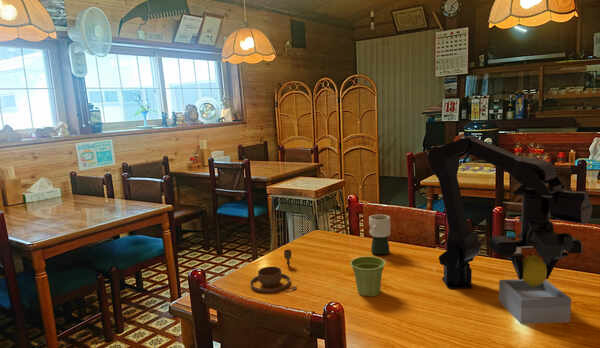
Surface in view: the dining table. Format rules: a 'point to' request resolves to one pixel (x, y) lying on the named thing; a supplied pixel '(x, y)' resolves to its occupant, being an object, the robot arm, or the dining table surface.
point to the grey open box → (534, 302)
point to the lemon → (534, 270)
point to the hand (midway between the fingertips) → (532, 278)
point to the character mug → (379, 233)
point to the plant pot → (368, 274)
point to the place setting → (272, 277)
